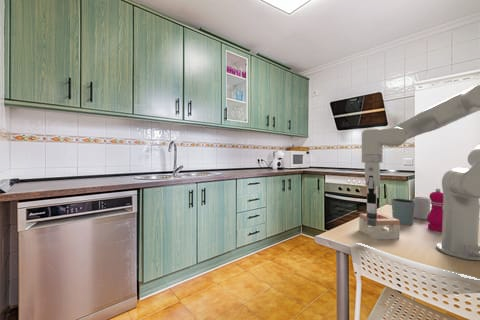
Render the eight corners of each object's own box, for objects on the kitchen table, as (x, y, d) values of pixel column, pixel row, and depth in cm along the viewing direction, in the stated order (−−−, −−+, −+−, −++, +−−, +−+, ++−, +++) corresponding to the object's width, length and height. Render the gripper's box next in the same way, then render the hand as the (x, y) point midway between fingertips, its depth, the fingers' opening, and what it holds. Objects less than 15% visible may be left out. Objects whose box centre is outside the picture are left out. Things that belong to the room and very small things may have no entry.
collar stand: (399, 238, 94) (399, 220, 94) (375, 239, 93) (376, 220, 93) (380, 229, 105) (381, 213, 105) (359, 230, 104) (359, 213, 104)
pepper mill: (450, 232, 102) (452, 190, 101) (432, 231, 103) (434, 189, 102) (439, 227, 109) (441, 187, 108) (423, 226, 110) (424, 187, 109)
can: (413, 215, 129) (414, 195, 129) (430, 218, 124) (431, 197, 123) (411, 218, 124) (412, 197, 123) (428, 221, 118) (429, 199, 118)
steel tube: (379, 226, 91) (379, 187, 90) (370, 226, 90) (370, 188, 90) (372, 223, 94) (372, 186, 94) (364, 223, 94) (364, 186, 94)
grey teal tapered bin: (402, 226, 110) (403, 202, 110) (385, 219, 120) (386, 198, 120) (419, 225, 112) (420, 202, 111) (401, 219, 122) (402, 197, 121)
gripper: (381, 159, 83) (381, 207, 83) (383, 158, 96) (382, 199, 97) (359, 159, 87) (359, 205, 87) (363, 158, 101) (363, 198, 101)
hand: (371, 201), depth 92 cm, fingers closed on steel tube, 3 cm apart
